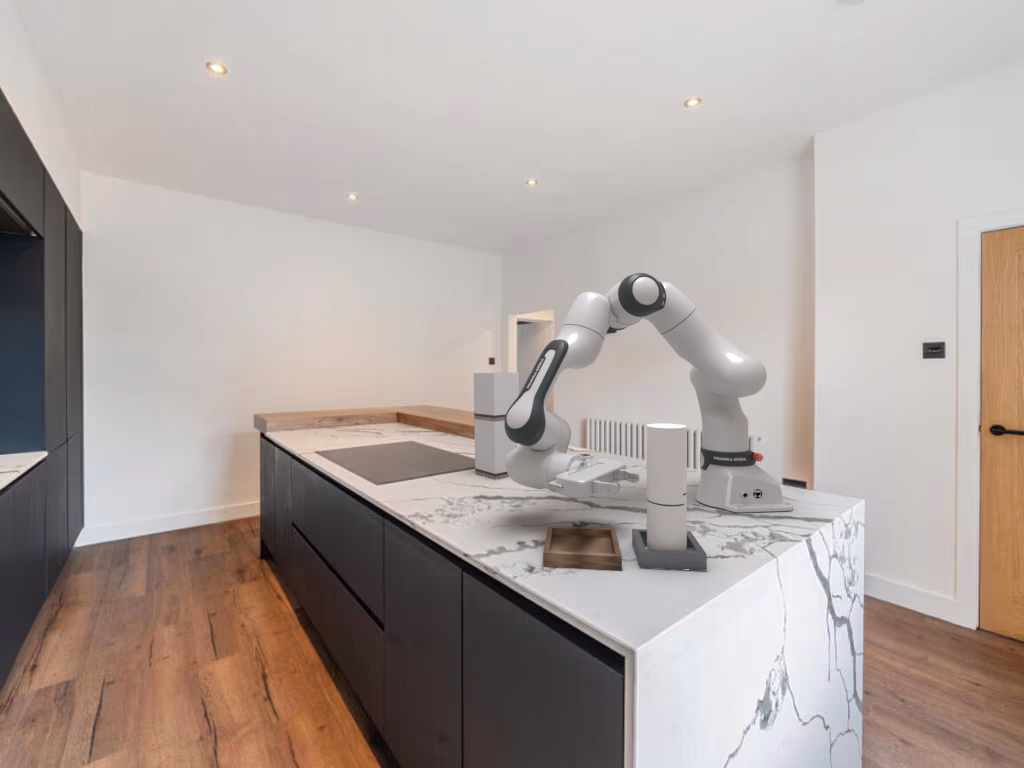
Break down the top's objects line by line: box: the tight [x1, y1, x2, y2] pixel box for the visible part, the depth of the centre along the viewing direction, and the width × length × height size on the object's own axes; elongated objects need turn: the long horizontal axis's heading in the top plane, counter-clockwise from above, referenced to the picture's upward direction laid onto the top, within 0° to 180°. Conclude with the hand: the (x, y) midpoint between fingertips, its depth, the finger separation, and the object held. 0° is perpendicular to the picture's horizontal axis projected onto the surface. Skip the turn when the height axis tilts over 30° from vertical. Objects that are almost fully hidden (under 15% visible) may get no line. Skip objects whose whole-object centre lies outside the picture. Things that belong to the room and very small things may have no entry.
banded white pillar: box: [473, 371, 520, 481], centre depth 151 cm, size 11×11×35 cm
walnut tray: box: [542, 525, 623, 571], centre depth 87 cm, size 14×14×2 cm
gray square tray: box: [631, 528, 708, 571], centre depth 84 cm, size 11×11×3 cm
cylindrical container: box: [646, 422, 688, 551], centre depth 84 cm, size 7×7×25 cm
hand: (628, 483), depth 89 cm, fingers open, 8 cm apart
